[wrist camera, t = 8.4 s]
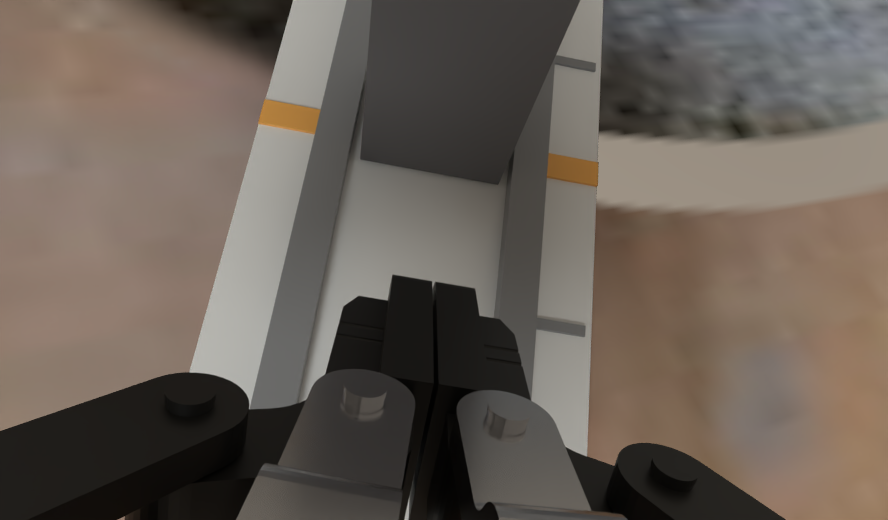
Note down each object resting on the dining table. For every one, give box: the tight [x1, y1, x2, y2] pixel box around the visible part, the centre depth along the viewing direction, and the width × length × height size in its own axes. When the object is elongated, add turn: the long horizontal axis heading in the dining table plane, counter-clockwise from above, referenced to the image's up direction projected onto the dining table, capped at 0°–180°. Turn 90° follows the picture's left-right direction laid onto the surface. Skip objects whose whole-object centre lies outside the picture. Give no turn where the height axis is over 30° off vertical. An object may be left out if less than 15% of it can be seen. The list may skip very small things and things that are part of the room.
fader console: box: [189, 0, 603, 520], centre depth 19 cm, size 22×10×2 cm, turn 173°
